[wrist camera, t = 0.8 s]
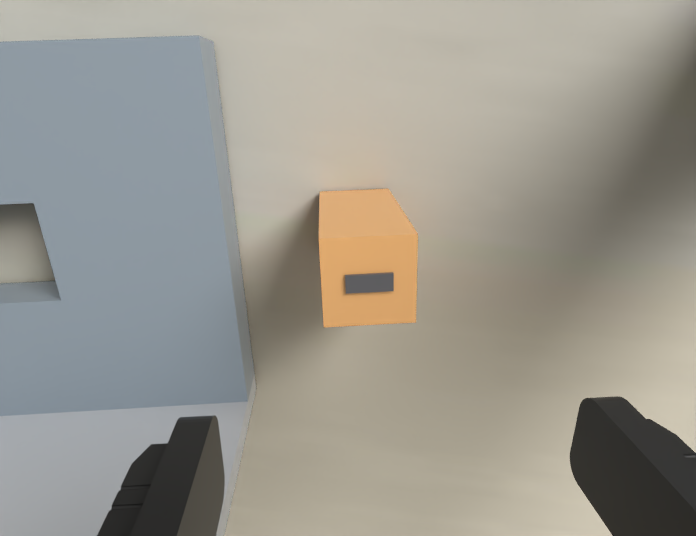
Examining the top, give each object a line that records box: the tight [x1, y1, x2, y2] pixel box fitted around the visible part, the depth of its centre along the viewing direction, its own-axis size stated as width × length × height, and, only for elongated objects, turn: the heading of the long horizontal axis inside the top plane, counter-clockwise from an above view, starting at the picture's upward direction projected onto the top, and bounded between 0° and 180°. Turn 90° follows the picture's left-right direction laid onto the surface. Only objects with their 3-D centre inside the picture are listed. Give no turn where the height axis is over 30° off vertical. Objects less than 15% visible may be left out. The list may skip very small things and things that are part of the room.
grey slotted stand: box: [0, 36, 256, 536], centre depth 22 cm, size 18×21×12 cm
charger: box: [319, 189, 418, 327], centre depth 24 cm, size 4×4×9 cm
